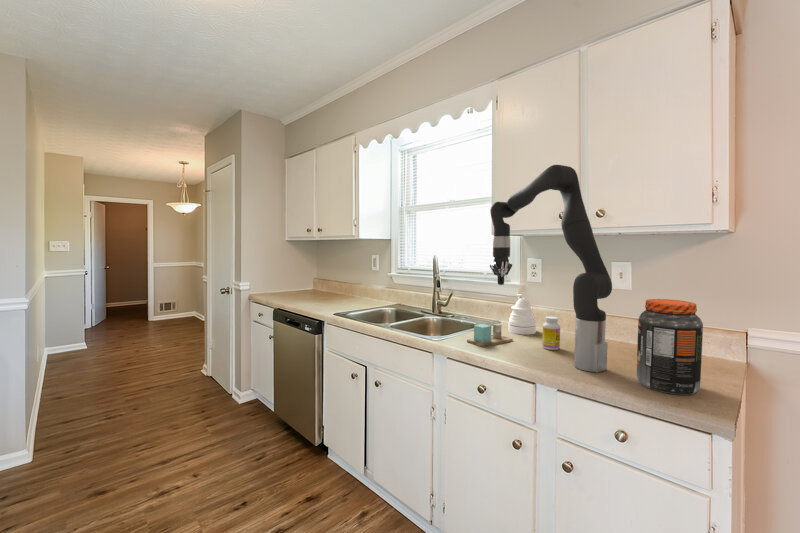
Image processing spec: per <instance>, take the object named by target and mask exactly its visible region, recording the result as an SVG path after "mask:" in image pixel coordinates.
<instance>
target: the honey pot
mask: <svg viewBox="0 0 800 533" xmlns="http://www.w3.org/2000/svg"><path fill="white" fill-rule="evenodd" d="M516 298H517V299H518V300H517V301H516V302H515V304H514V305H512V306H511V307H510V309H511V313H510V316H509V319H508V326H507V327H508V328H507V329H508V330H507V331H508V332H509V333H512V334H516V335H517V334H518V335H533V334H536V333H537V321H536V320H535V315H534V313H533V307H532V306H531V305H530V303H529V302H528V300H527V298H525V297H523V294H519V293H516Z"/></svg>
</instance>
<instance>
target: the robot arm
mask: <svg viewBox="0 0 800 533" xmlns="http://www.w3.org/2000/svg"><path fill="white" fill-rule="evenodd" d="M549 190H550V191H551V190H552V191H559V193H560V194H561V197H562V201H563V211H562V217H561V221H560V222H561V229H562V233H563V236H564V239H565V242H566V244H567V245H568V246H569V248H570V249H571V250H572V252H573V253H574V255H576V256H577V257H578V258H579V260H580V261H581V263H582V267H583V268H584V270H585V272H583V273H580V274H578V275H577V276H576V277H575V279H574V281H573V286H572V292H573V295H572V296H573V300H572V302H573V310H574V312H575V331H574V332H575V333H574V361H573V362H574V365H573V366H574V367H575V368H576V369H578V370H582V371H585V372H591V373H597V374H598V373H600V372H603V371H607V369H608V346H609V345H608V342H607V341H606V324H607V322H606V321H607V314H606V311H604V310H602V309H600V308H599V305H598V304H599V303H598V300H600V299H601V300H602V299H606V298H608V297H609V296H610V295H611V293H612V291H613V283H612V279H611V276H610V274H609V271H608V270H607V267H606V265H605V263H604V260H603V258H602V256H601V253H600V250H599V246H598V245H597V242H596V239H595V235H594V233H593V228H592V224H591V222H590V219H589V216H588V214H587V209H586V207H585V204H584V201H583V197H582V196H583V195H582V191H581V186H580V181H579V177H578V173H577V172H576V170H575V169H574V168H573V167H571V166H570V165H569V166H567V165H562V164H553V165H550V166H549V167H547V168H546V169H544V170H543V171H542V172H541V173H540V174H539V175H538V176H537V177H535V178H534V179H533V180H532V181H531V182H529V184H527V185H526V186H525V187H523V188H521V189H520V190H518V191H516V192H514V193H513V194H511V195H510V196H509V197H508V198H507V200H506V202H505V201H495V202H493V203H492V204H491V206H490V209H489V210H490V211H489V213H490V217H491V221H492V225H493V239H492V257H494V259H493V262H492V264H489V267H490V270H491V272H492V273H493V275H495V276H496V277H497V284H498V285H499V286H502V285H503V286H504V285H505V277H506V276H507V275H509V273H510V270H512V267H513V263H510V259H509V258H511V225H510V224H509V223H507V222H505V221H504V219H509V218H511V217H513V216H514V215H516V213H518V212H519V210H521V209H523V208H525V207H527V206H528V205H530V204H531V203H532V202H533V201H534V200H535V199H536V197H537V196H538V195H539V194H541V193H543V192H546V191H549Z"/></svg>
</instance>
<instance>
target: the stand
mask: <svg viewBox="0 0 800 533" xmlns="http://www.w3.org/2000/svg"><path fill="white" fill-rule="evenodd" d="M502 327H503V326H502V324H501V323H500V324H499V323H494V324H492V334H491V341H490V342H485V343H481V342H478V341H475V340H474V337H473V338H468V339H466V343H469V344H472V345H474V346H479V347H481V348H487V347H490V346H496V344H497V345H500V344H501V345H502V344H506V343H510V341H511V342H514V339H513V338H511V337H507V336H503V335H502ZM505 342H506V343H505Z"/></svg>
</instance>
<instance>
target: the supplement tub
mask: <svg viewBox="0 0 800 533" xmlns="http://www.w3.org/2000/svg"><path fill="white" fill-rule="evenodd" d="M644 308H645V310H643V311H642V312H641V313H640V315H639V317H638V319H637V320H638V323H637V347H636V348H637V352H636V379H637V381H638V382H639V383H640V384H641V385H643V386H644V387H646V388H648V389H651V390H653V391H658V392H660V393H664V394H665V393H666V394H673V395H679V396H680V395H681V396H683V395H684V396H686V395H687V396H688V395H693V394H696V393H697V392H699V391H700V388H701V376H702V357H703V356H702V355H703V336H704V335H703V334H704V333H703V332H704V323H703V321H702V319H701V317H699V316H698V315H697V314H696V313H697V311H698V310H697V304H696V303H695V302H693V301H692V302H691V301H686V300H679V299H669V298H665V299H664V298H653V299H646V300H645V305H644Z"/></svg>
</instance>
